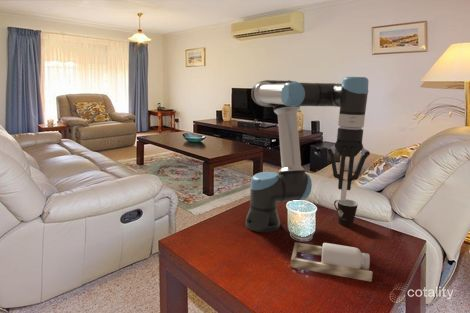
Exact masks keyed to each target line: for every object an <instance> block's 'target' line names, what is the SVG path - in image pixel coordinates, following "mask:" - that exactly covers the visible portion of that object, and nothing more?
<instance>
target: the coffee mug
mask: <svg viewBox="0 0 470 313" xmlns="http://www.w3.org/2000/svg"><path fill="white" fill-rule="evenodd" d="M336 204H337V205H336ZM358 204H359V203H358V202H356V201H355V200H352V199H348V198H346V201H345V200H341V198H340V199H337V200H334V203H333V205H334V208H335V209H336V211H337V222H338V224H339V225H341V226H344V227H351V226H354V222H355V217H356V215H357V214H356V213H357V210H358V207H359V206H358Z"/></svg>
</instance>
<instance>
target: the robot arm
mask: <svg viewBox="0 0 470 313" xmlns="http://www.w3.org/2000/svg"><path fill="white" fill-rule="evenodd" d="M250 94H251V95H250V96H251V99H252V100H253V102H254V103H255V104H257V105H258V106H261V107H267V108H268V107H269V108H273V112H274V113H275V115H277V123H278V124H277V125H278V136H279V138H278V139H279V150H280V152H279V153H280V163H281V168H280V169H279V170H278V173H277V172H275V171H262V172H258V173H255V174H254V175H252V177H251V180H250V186H249V187H250V195H249V196H250V197H249V210H248V212H247V215H246V218H245V228H247V229H249V230H251V231H253V232H257V233H273V232H276V231H278V230H279V229H280V228H281V220H280V218H279V213H278V209H277V208H278V203H284V202H286V203H287V202H294V201H293V200H299V201H304V200H306V199H308V198H309V196H310V194H311V192H312V188H313V187H312V186H313V184H312V183H313V182H312V178H311V177H310V175H309V174H308V173H306V169H305V168H304V167H302V159H301V150H300V149H301V147H300V137H299V125H298V115H297V114H298V112H299V111H300V110H301V109H300V107H335V108H336V107H337V108H339V114H338V115H339V116H338V124H337V125H338V126H339V127H337V133H336V134H337V135H336V141H335V143H334V144H333V145H332V146H331V147H328V148H327V152H328V154H329V157H330V162H331V167H332V168H331V170H332V175H333V178H335V179H337V180H338V184H337V185H338V186H337V188H338V190H341V192H340V199H341V200H345V201H346V199H347V191H351V188H352V181H355V180H356V181H357V180H358V179H359V177H360V174H361V172H362V169H363V167H364V165H365V161H366V160H367V158H368V157H369V156H370V154H371V152H370V151H369V150H368V149H366V148H364V145H363V137H364V136H363V135H364V129H362V128H364V127H365V120H366V119H365V118H366V110H367V102H368V94H369V79H368V78H367V77H366V76H345V77H343V79H342V81H341V83H334V82H331V83H330V82H329V83H327V82H325V83H323V82H298V81H296V80H295V81H294V80H290V79H289V80H278V79H277V80H270V79H265V80H261V81H258V82H256V83H255V84H254V85H253V87H252V89H251V93H250ZM336 151H337V153H338V154H339V155H340V166H339V173H338V169H337V164H336V163H337V162H336V156H335V153H336ZM359 153H360V158H359V160H358V163H357V166H356V168H355V171H354V161H355V157H356V156H358V154H359ZM347 158H349V159H348V160H349V161H348V168H347V169H348V170H347V178H344V173H345V166H346V165H345V164H346V159H347ZM353 172H354V174H353Z"/></svg>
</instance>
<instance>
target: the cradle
mask: <svg viewBox="0 0 470 313" xmlns="http://www.w3.org/2000/svg"><path fill="white" fill-rule="evenodd" d="M322 247H323V245H322V246H321V245H315V244H308V243H304V242H303V243H301V242H297V241H296V242H294V245H293V250H292V254H291V258H290V268H292V269H293V268H294V269H298V270H304V271H310V272H316V273H321V274H327V275H333V276H338V277H344V278H350V279H353V280H354V279H355V280H360V281H366V282H371V283H372V281H373V271H371V270H364V269H361V268H360V269H356V268H350V267H345V266H339V265H333V264H327V263H321V261H314V260H310V259H303V258H297V254H298V253H303V254H305V253H306V254H310V255H315V256H321V257H322Z"/></svg>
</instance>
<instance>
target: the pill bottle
mask: <svg viewBox="0 0 470 313" xmlns="http://www.w3.org/2000/svg"><path fill="white" fill-rule="evenodd" d="M370 257H371V256H370V254H369V253H366V252H362V251H361V250H360V249H359V248H358V247H353V246H348V245H342V244H335V243H329V242H323V243H322V256H321V261H320V262H321V263H327V264H333V265H339V266H345V267H350V268H356V269H362V270H368V271H370V270H369V269H370V265H371V264H370V261H371V258H370Z"/></svg>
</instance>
